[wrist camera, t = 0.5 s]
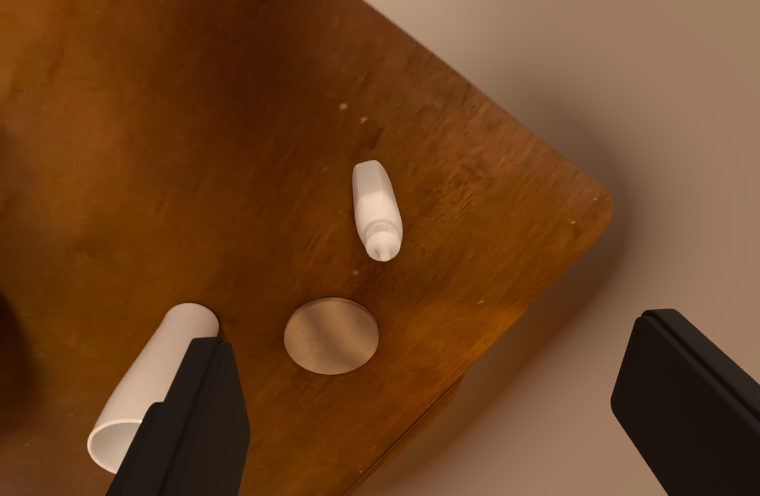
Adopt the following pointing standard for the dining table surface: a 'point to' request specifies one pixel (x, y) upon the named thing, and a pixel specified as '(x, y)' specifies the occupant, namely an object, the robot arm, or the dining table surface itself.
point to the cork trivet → (331, 336)
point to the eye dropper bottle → (376, 211)
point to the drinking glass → (147, 382)
